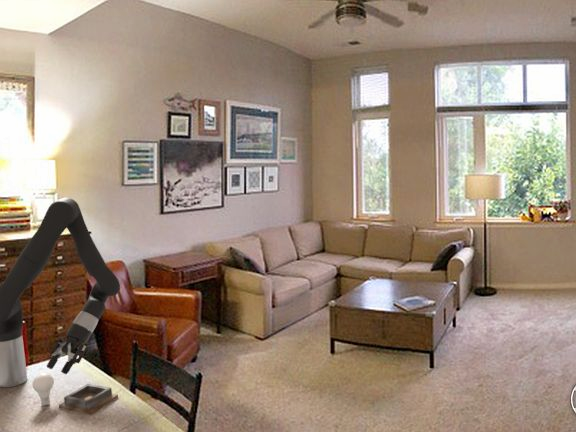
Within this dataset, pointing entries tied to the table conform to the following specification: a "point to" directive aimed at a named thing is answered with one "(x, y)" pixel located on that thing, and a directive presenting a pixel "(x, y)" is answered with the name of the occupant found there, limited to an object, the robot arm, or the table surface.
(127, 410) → the table surface
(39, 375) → the lightbulb
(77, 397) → the bulb stand
